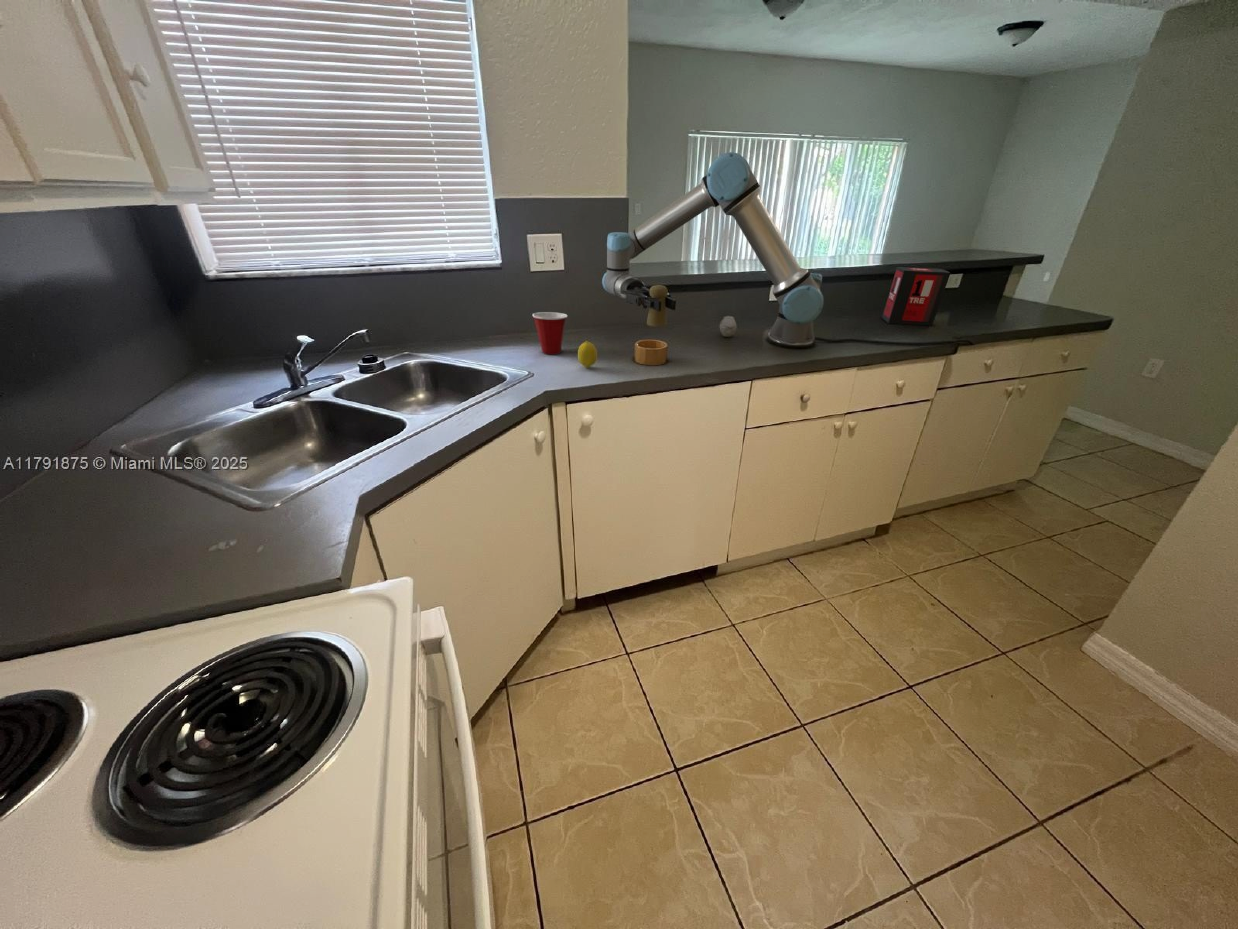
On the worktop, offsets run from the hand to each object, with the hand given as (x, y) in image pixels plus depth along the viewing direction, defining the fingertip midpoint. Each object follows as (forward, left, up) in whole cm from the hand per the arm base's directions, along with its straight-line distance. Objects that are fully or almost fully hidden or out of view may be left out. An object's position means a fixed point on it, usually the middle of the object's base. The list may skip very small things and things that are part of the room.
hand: (667, 305), depth 138 cm
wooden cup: (+4, -3, -17) cm, 18 cm away
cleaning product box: (-91, -78, -18) cm, 121 cm away
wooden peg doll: (+3, -4, -7) cm, 9 cm away
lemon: (+21, +9, -18) cm, 29 cm away
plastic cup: (+36, -3, -18) cm, 41 cm away
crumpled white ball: (-19, -36, -18) cm, 45 cm away
